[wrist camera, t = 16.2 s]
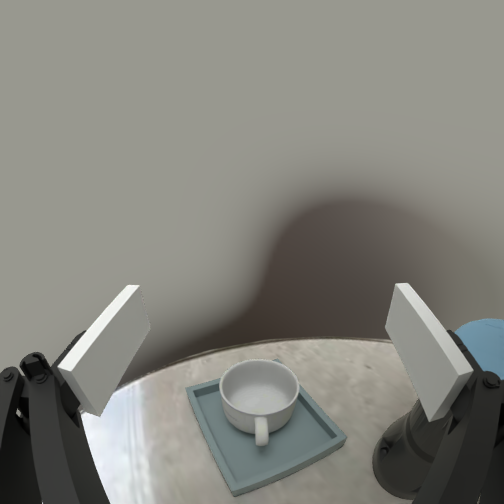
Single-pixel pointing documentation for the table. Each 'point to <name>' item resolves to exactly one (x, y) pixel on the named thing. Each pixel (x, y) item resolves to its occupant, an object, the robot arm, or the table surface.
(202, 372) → the table surface
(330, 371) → the table surface
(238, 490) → the tray
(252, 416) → the teacup
